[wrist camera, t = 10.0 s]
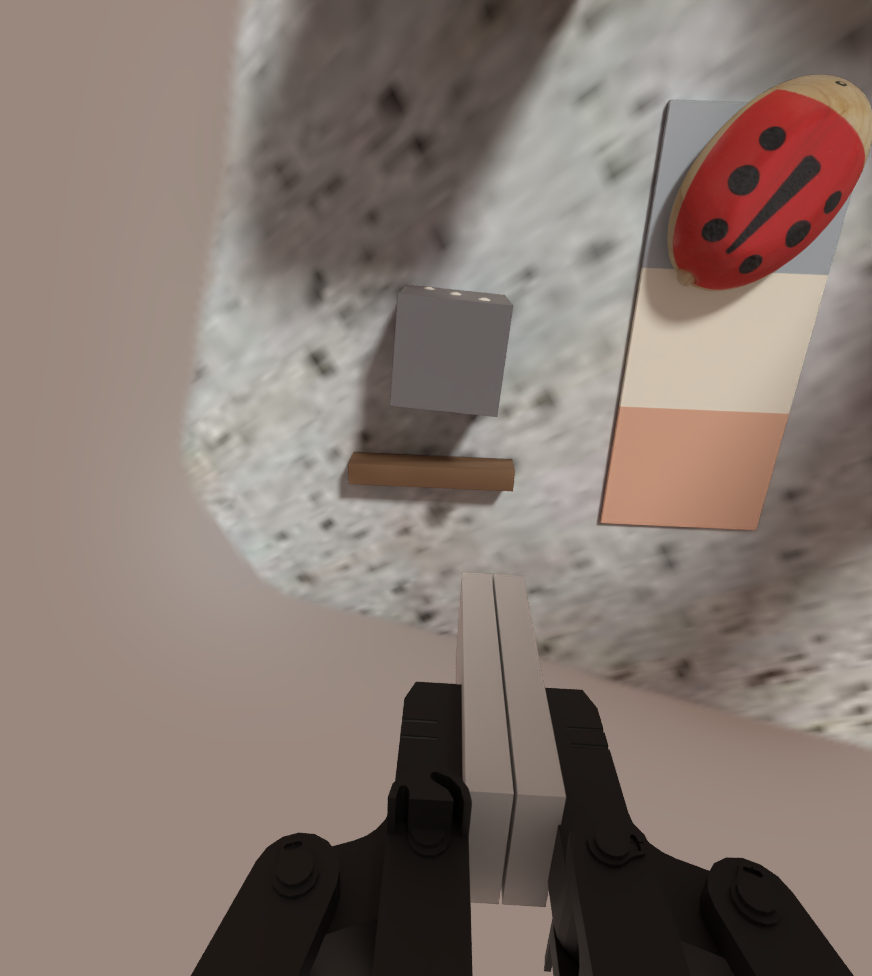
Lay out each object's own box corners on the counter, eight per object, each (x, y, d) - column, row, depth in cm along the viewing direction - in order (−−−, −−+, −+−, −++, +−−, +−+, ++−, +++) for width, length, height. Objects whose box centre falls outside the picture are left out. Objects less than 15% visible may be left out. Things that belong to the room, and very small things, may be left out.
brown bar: (353, 452, 34) (348, 463, 32) (511, 459, 33) (514, 470, 32) (353, 471, 34) (348, 483, 32) (510, 478, 34) (513, 491, 32)
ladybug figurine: (887, 141, 26) (947, 127, 23) (725, 325, 30) (758, 336, 27) (782, 38, 25) (831, 8, 22) (625, 243, 28) (646, 244, 25)
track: (668, 101, 26) (670, 99, 26) (871, 108, 26) (875, 106, 26) (600, 520, 35) (601, 522, 34) (753, 527, 35) (756, 530, 34)
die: (398, 381, 32) (405, 282, 30) (491, 390, 32) (504, 293, 30) (387, 405, 27) (395, 290, 25) (497, 417, 27) (513, 303, 25)
